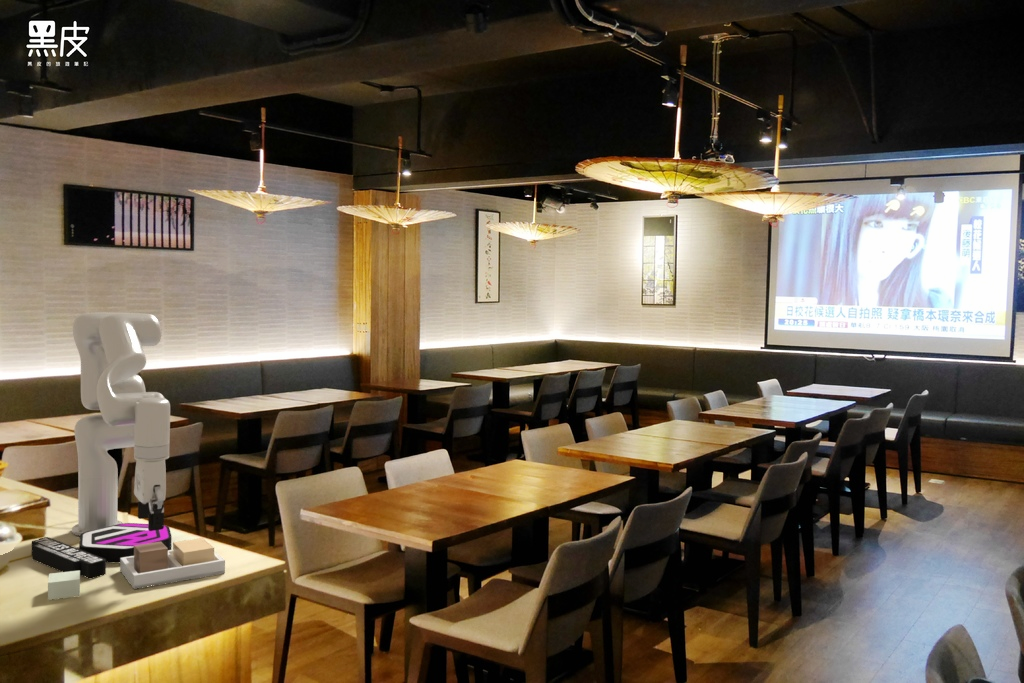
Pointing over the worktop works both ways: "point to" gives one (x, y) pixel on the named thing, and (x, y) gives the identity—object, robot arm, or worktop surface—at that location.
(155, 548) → the walnut block
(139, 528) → the sign
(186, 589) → the worktop surface
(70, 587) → the sage box
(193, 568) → the box
